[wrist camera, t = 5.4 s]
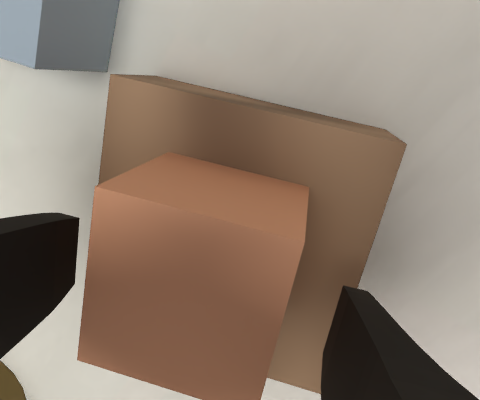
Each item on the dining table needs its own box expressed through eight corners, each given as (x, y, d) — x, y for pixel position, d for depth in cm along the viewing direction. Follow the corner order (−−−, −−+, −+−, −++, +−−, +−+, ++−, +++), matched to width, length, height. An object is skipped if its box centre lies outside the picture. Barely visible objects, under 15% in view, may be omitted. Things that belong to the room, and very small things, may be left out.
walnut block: (384, 128, 15) (407, 144, 12) (319, 328, 18) (320, 394, 14) (158, 75, 16) (110, 74, 12) (129, 273, 19) (83, 320, 15)
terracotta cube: (309, 187, 12) (304, 241, 8) (274, 313, 14) (255, 416, 9) (168, 151, 13) (94, 186, 9) (149, 276, 14) (77, 360, 10)
